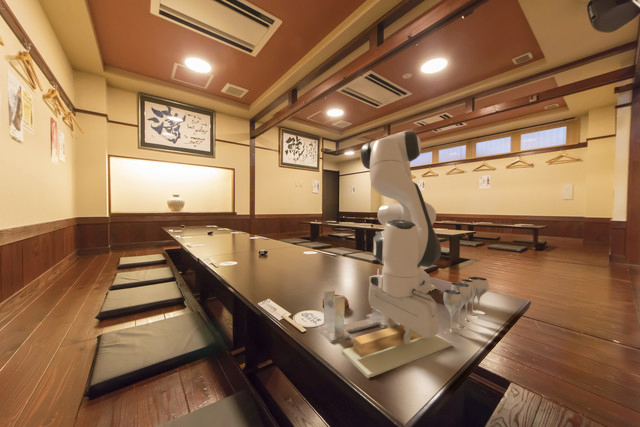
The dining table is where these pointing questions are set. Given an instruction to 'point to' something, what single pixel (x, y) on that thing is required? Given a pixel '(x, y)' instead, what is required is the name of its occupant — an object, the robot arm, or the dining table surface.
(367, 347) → the bar
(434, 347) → the mat
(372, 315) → the rack
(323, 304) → the burger
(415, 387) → the dining table surface
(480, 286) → the goblet set
